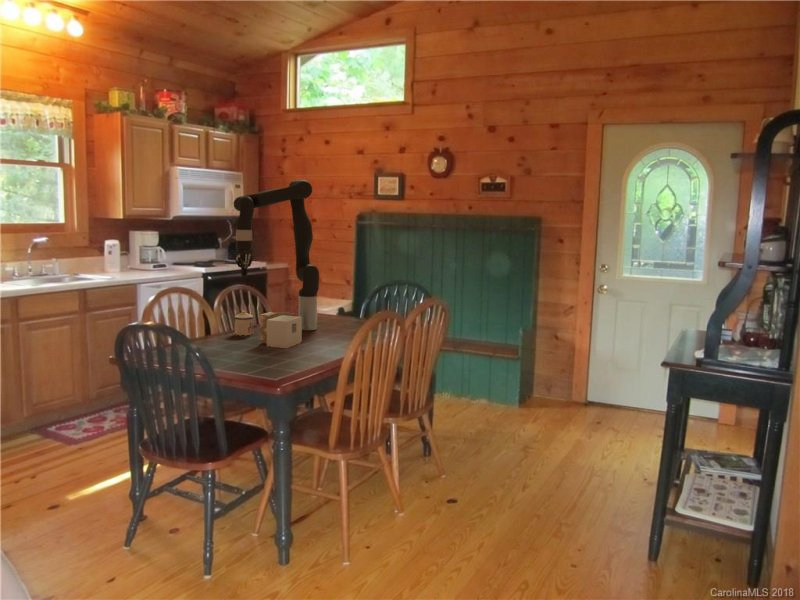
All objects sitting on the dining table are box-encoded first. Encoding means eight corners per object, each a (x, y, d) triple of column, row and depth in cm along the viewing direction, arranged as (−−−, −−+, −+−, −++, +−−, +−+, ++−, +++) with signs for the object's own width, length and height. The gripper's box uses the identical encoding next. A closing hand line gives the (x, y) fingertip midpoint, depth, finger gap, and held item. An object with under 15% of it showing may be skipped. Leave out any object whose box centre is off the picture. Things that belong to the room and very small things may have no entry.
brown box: (260, 342, 298) (259, 314, 296) (269, 339, 305) (269, 312, 303) (289, 346, 293) (289, 317, 291) (298, 342, 300) (298, 314, 298)
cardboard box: (266, 346, 293) (266, 319, 292) (282, 340, 306) (282, 315, 305) (286, 348, 290) (286, 321, 288) (301, 342, 303) (301, 317, 301)
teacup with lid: (251, 336, 314) (251, 312, 312) (232, 336, 313) (232, 312, 312) (256, 331, 326) (255, 308, 324) (237, 331, 325) (237, 308, 324)
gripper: (243, 240, 300) (243, 277, 303) (258, 239, 313) (258, 275, 315) (229, 239, 303) (229, 277, 305) (245, 238, 315) (245, 274, 318)
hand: (244, 276), depth 310 cm, fingers closed
